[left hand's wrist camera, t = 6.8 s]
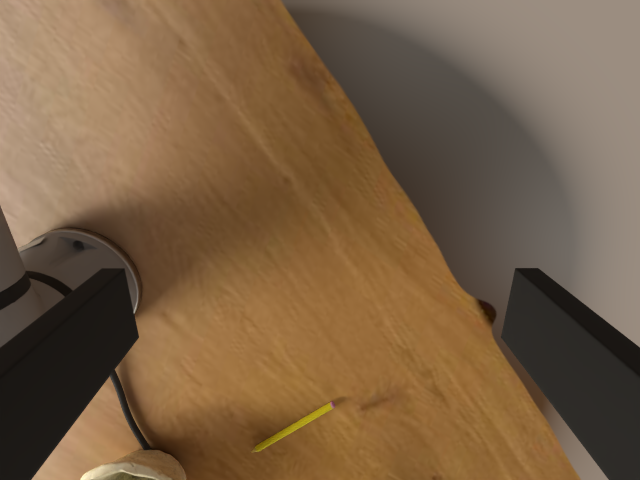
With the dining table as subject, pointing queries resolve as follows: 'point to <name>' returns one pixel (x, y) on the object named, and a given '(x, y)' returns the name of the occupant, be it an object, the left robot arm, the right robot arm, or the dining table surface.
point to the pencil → (294, 426)
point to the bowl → (139, 468)
